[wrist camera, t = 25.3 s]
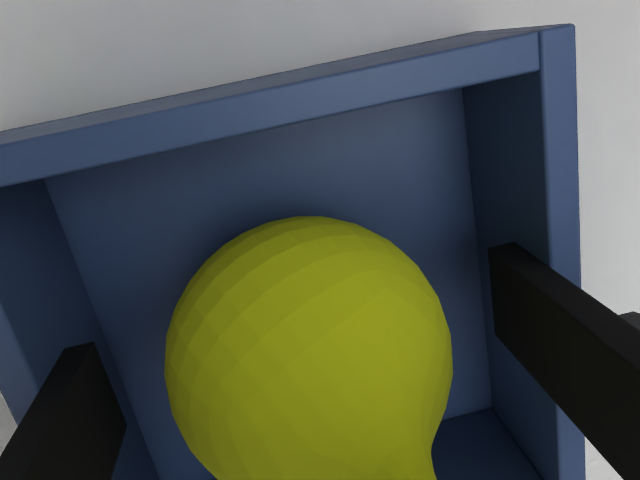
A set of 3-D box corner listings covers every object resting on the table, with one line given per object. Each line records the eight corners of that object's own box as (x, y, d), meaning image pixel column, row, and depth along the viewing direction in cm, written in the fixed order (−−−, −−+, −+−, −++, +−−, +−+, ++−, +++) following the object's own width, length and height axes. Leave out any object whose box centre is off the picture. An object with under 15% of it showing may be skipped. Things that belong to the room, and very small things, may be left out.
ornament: (433, 339, 18) (635, 643, 9) (243, 423, 18) (244, 813, 9) (358, 147, 16) (529, 289, 6) (137, 246, 16) (-16, 529, 6)
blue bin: (150, 502, 19) (122, 644, 15) (2, 130, 15) (-111, 168, 10) (508, 410, 20) (588, 517, 16) (476, 31, 16) (577, 21, 11)
